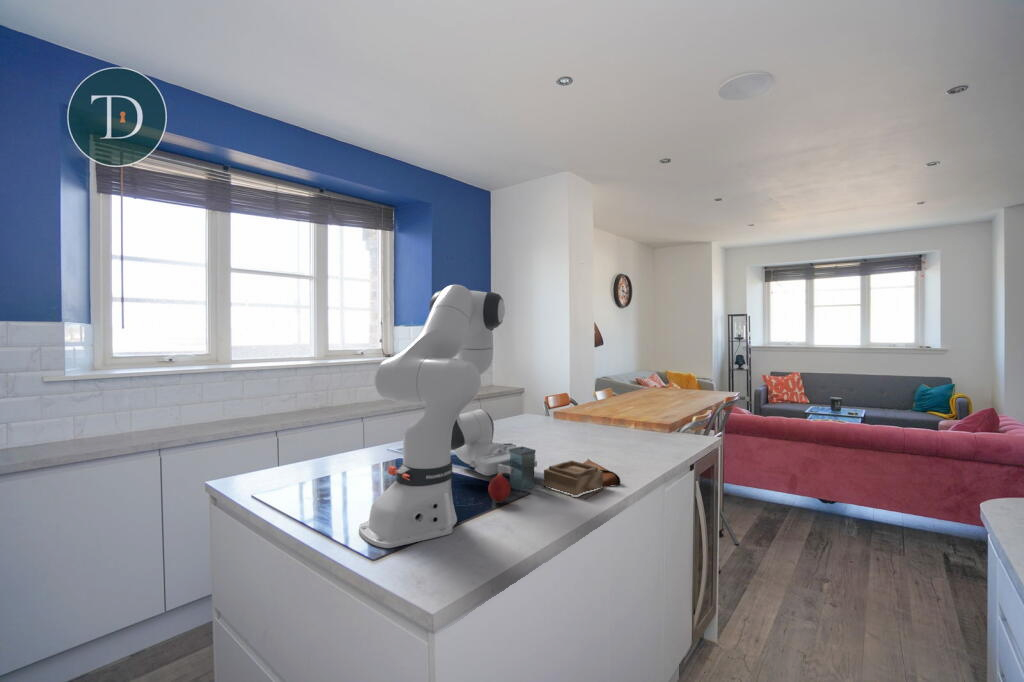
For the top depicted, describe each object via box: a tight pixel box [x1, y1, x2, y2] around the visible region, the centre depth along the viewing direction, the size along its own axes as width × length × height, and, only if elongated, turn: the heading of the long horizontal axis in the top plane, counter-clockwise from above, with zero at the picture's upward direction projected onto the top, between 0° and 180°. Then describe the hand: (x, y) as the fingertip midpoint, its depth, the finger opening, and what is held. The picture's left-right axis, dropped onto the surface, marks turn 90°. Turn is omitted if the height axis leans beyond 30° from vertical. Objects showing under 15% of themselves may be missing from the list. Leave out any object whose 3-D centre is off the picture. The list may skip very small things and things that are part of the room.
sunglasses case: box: [582, 458, 621, 487], centre depth 147 cm, size 18×7×7 cm
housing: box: [509, 445, 536, 492], centre depth 137 cm, size 5×5×11 cm
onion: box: [487, 473, 512, 503], centre depth 125 cm, size 6×6×8 cm
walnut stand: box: [543, 460, 604, 495], centre depth 137 cm, size 12×12×6 cm
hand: (523, 467), depth 137 cm, fingers open, 8 cm apart
